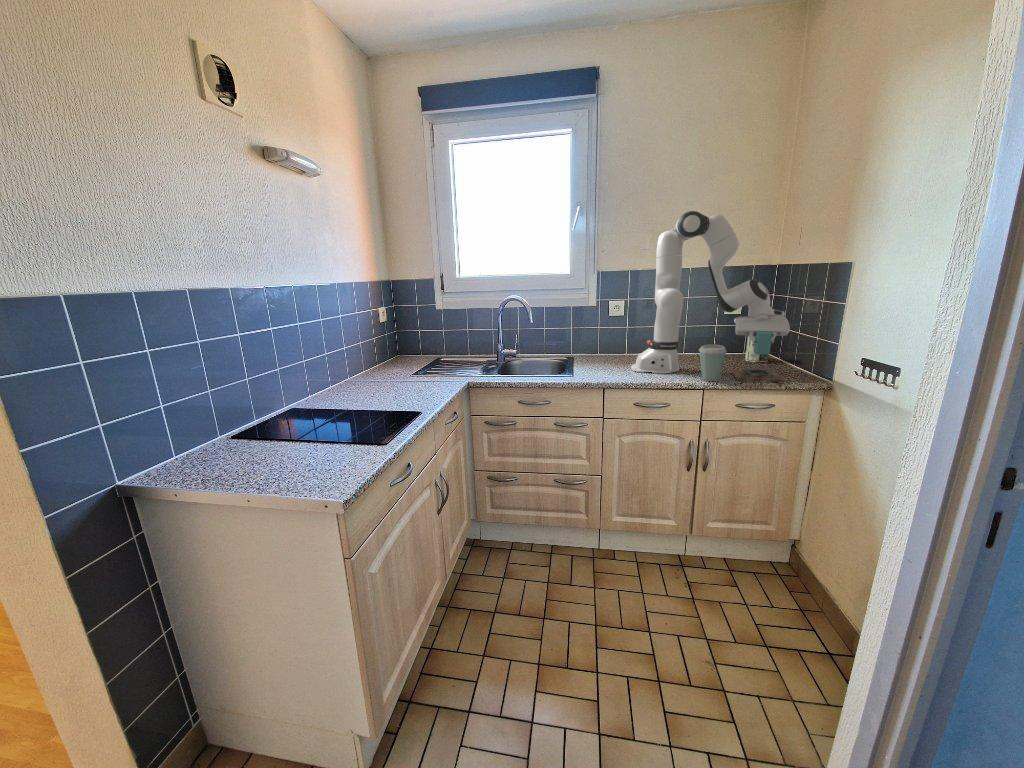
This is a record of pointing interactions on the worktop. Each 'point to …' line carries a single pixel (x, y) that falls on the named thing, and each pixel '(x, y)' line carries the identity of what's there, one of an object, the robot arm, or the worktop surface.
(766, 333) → the pillar
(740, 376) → the base board
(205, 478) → the worktop surface
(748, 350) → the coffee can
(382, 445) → the worktop surface
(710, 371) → the disposable coffee cup
